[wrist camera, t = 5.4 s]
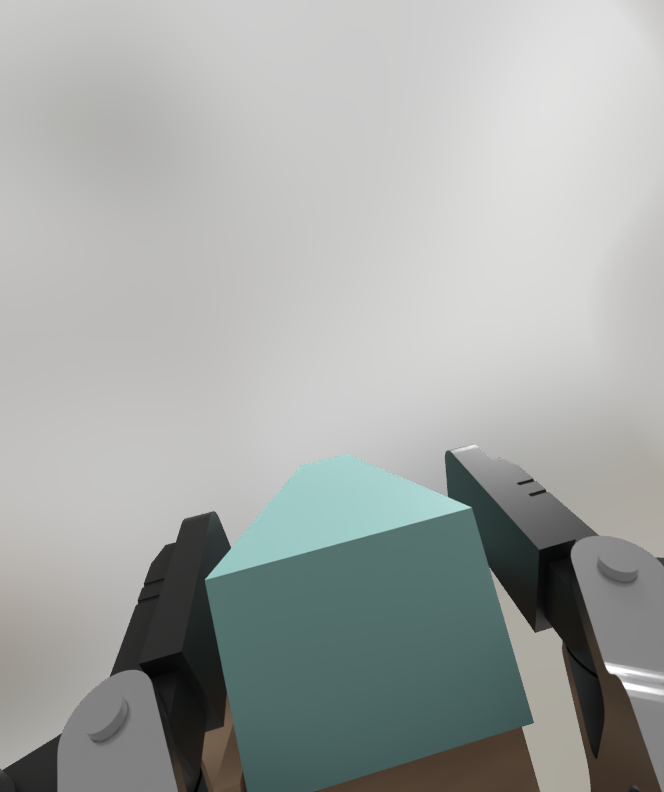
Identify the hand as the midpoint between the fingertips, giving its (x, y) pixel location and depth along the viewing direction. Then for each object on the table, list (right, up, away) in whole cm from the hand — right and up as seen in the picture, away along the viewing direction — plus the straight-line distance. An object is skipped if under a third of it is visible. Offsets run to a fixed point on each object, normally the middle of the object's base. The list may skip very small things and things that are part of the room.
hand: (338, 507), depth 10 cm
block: (0, -4, +8) cm, 9 cm away
